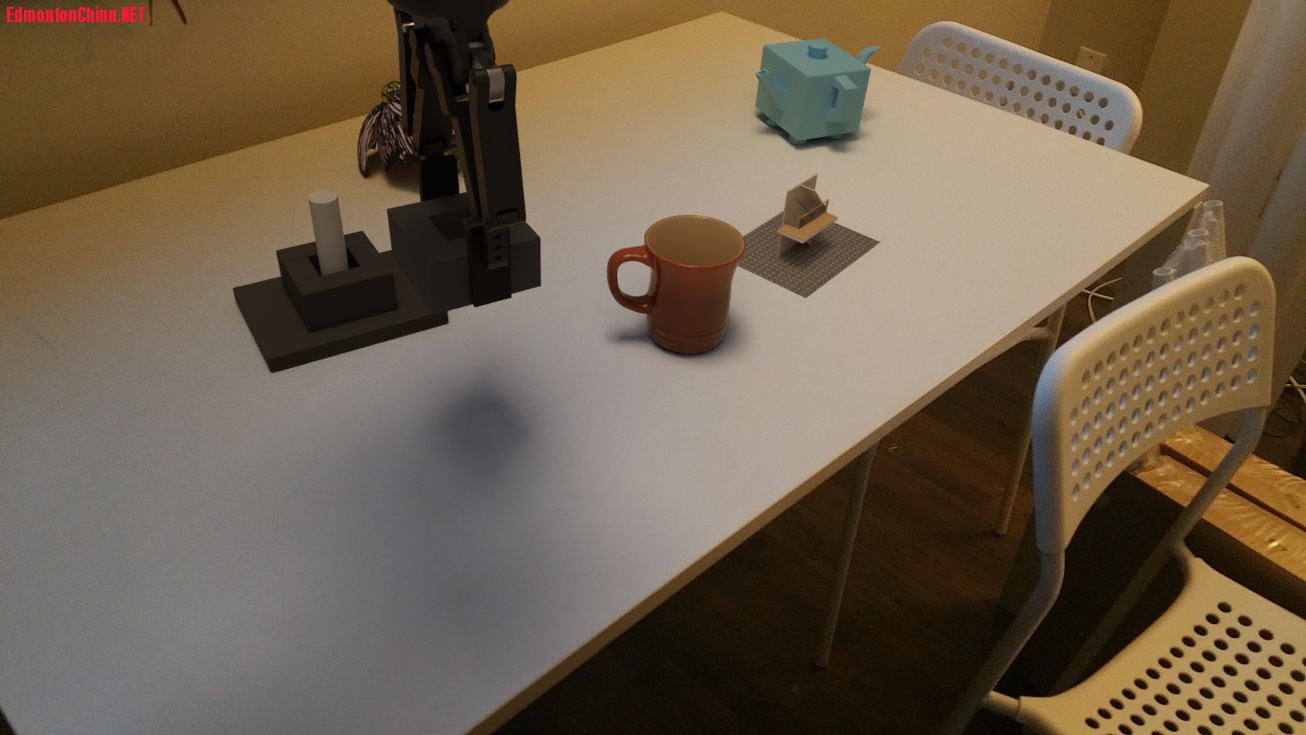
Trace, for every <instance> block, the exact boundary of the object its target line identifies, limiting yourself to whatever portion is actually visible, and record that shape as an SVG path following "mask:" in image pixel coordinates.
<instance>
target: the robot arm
mask: <svg viewBox="0 0 1306 735" xmlns="http://www.w3.org/2000/svg"><path fill="white" fill-rule="evenodd" d="M386 2H387V3H388V4H389V5H390V6H392V10H393V14H394V19H395V25H396V32H397V33H396V34H397V46H398V48H397V49H398V66H399V67H398V70H399V82H400V96H401V120H402V127H401V128H402V132H403V134H404V135H405V137H406V138H408V137H412V143H411V146H412V151H413V152H414V154H415V156H416V157H419V156H420V160H418V161H417V163H416V167H417V168H416V169H417V170H416V172H417V181H418V189H419V190H418V191H419V200H420V201H419V202H422V201H426V200H431V199H436V198H440V197H445V196H450V195H454V194H459V193H461V192H460V180H459V178H460V177H459V171H458V164H460V169H461V172H462V177H463V182H464V186H465V187H464V188H465V192H467V197H468V202H469V206H470V211H471V217H468V218H465V219H461V223H462V226H463V227H464V229H465V230H466V239H467V254H468V265H469V281H470V296H471V303H472V304H473V305H472V306H473V307H474V308H475V309H477V308H479V307H483V306H487V305H491V304H494V303H497V302H501V301H505V300H509V299H512V297H513V296H512V295H513V294H512V290H511V261H510V231H509V226H514V225H518V224H522V223H525V222H526V223H527V209H526V199H525V190H524V180H523V179H524V178H523V167H522V159H521V148H520V139H519V138H520V136H519V128H518V117H517V106H516V102H517V83H518V74H517V71H516V68H515V66H514V64H513V63H506V64H500V65H499V64H497V62H496V59H497V56H496V51H495V46H494V41H493V38H492V36H491V33H490V28H489V25H488V21H489V19H490V17H491V16H493V14H494V13H495V12H496V11H498V10H501V9H502V8H504V7H505V6H506V5H507V4H508V3H509V2H510V0H386ZM463 96H469V100H467V101H461V102H457V98H458V97H463ZM413 115H414V116H413ZM450 150H453V151H454V150H457V153H458V154H459V159H460V160H459V162H457V160H458V158H457V155H455V154H454V153H452V154H449V155H444V152H445V151H450Z"/></svg>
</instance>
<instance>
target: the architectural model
mask: <svg viewBox="0 0 1306 735" xmlns="http://www.w3.org/2000/svg"><path fill="white" fill-rule="evenodd" d="M817 180H818V173H815V174H813V175H812V176H810V177H808V178H806V179H805V180H803V181H801V182H800V183H798V184H796V185H795V186H793V187H791V188H789V189H788V190H786V195H785V201H784V206H783V211H781V212H780V213H777V215H775V216H774V217H773V216H772V218H770V219H768V220H767V221H765V222H764V223H762V224H760V225H759V226H758V227H756V228H755V229H752V230H751V231H750V232H748V233H746V234H744V235H742V236H743V237H744V240H745V244H746V247H745V251H744V254H743V256H742V258H741V260H740V261H739V263H738V266H739V267H741V268H742V269H745V270H747V271H749V272H751V273H754V274H756V275H757V276H759V277H761V278H764V279H766V280H768V281H770V282H772V283H774V284H777V285H778V286H781V287H783V288H785V289H787V290H789V291H791V292H792V293H793V292H794V293H796V294H797V295H800V296H802V297H804V298H807V297H809V296H810V295H812V294H813V293H814V292H815V291H817V290H819V289H820V287H822V286H823V285H825V284H826V283H828V282H829V281H830V280H831V279H833V278H834V277H835V276H837V275H838V274H839V273H841V272H842V271H844V270H845V269H846V268H847V267H849V266H850V265H851V264H853V263H854V262H856V261H857V260H858V259H860V258H861V257H862V256H863V255H865V254H866V253H867V252H869V251H871V250H872V249H873V248H875V247H876V246H877V245H878V244H879V243H880V240H877V239H874V238H872V237H870V236H867V235H866V234H863V233H860V232H858V231H856V230H853V229H851V228H849V227H846V226H844V225H842V224H839V223H837V221H838V218H839V217H838V216H837V215H835V214H832V213H830V212H827V211H828V206H829V202H830V199H829V198H827V199H826V201H824V202H823V200H822V199H821V197H820V196H819V194H818V192H817V191H816V187H817V186H816V185H817V182H818V181H817ZM738 266H737V267H738Z"/></svg>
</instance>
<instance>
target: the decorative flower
mask: <svg viewBox="0 0 1306 735" xmlns="http://www.w3.org/2000/svg"><path fill="white" fill-rule="evenodd" d="M380 97H381V99H382V101H380V102H379V103H378V104H376V105H375V106H374V107H373V108H371V110H370V111H369V112H368V114H367V116H365V118H364V119H363V123H362V124H361V128H360V130H359V133H358V140H357V141H358V142H357V148H356V150H357V151H356V153H357V154H356V155H357V164H358V169H359V172H360V174H361V175H362V177H365V175H366V173H367V172H366V171H367V160H368V152H369V151H370V150H374V151H375V150H376V149H377V151H378V156H379V158H380V161H381V165H382V168H383V170H384V172H385V174H386V177H389V175H390V176H391V175H392V174H391V171H393V167H394V166H396V164H397V163H398V161H399V163H405V164H407V166H408V167H411V166H413V165H415V164H417V161H418V160H420V156H419V157H416V156H415V154H414V152H413V151H412V146H411V143H412V137H408V138H406V137H405V135H404V134H403V132H402V128H401V127H402V120H401V96H400V81H396V80H391V81H389V82H388V83H386V84H385V85H383V87H382V89H381V90H380ZM467 100H469V96H463V97H458V98H457V102H461V101H467ZM413 116H414V115H413ZM453 151H454V150H450V151H445V152H444V155H449V154H453ZM456 157H457V162H458V172H460V171H461V164H460V159H459V154H458V152H457V153H456Z"/></svg>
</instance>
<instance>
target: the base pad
mask: <svg viewBox="0 0 1306 735" xmlns="http://www.w3.org/2000/svg"><path fill="white" fill-rule="evenodd" d="M307 199H308V206H309V211H310V217H311V224H312V229H313V234H314V241H316V246H317V252H318V258H319V263H320V269H321V275H322V276H324V275H328V274H332V273H336V272H340V271H344V270H348V269H349V266H348V260H347V253H346V247H345V240H344V235H345V234H344V227H343V222H342V221H343V220H342V214H341V208H340V202H339V195H338V192H336V191H334V190H331V189H318V190H315V191H312V192H311V193H310V194H309V195H307ZM379 253H380V255H381V256H382V258H383V259H384V260H385V262H386V263H387V265H388V266H389V267H390V269H391V270H392V272H393V275H394V283H395V292H396V300H397V309H396V310H392V311H388V312H385V313H381V314H377V315H374V316H370V317H366V318H362V319H359V320H355V321H351V322H348V323H344V324H340V325H336V326H333V327H329V328H325V329H322V330H318V331H314V332H310V333H309V331H308V330H307V328H306V326H305V324H304V323H303V321H302V319H301V317H300V316H299V314H298V312H297V310H296V309H295V307H294V305H293V303H292V302H291V300H290V298H289V296H288V295H287V293H286V291H285V289H284V288H283V284H282V279H281V275H279V276H276V277H272V278H268V279H264V280H260V281H255V282H251V283H247V284H243V285H239V286H235V287H233V288H232V292H233V296H234V300H235V303H236V305H237V307H238V309H239V311H240V313H241V315H242V317H243V319H244V321H245V323H246V325H247V327H248V329H249V331H250V334H251V335H252V337H253V339H254V341H255V343H256V345H257V347H258V350H259V351H260V353H261V355H262V357H263V359H264V362H265V363H266V365H267V368H268V369H269V371H270V373H275V372H279V371H283V370H286V369H290V368H293V367H296V366H300V365H303V364H304V365H305V364H307V363H308V364H309V363H311V362H315V361H318V360H322V359H325V358H328V357H333V356H335V355H336V356H337V355H339V354H344V353H347V352H349V351H353V350H358V349H361V348H364V347H368V346H371V345H375V344H379V343H381V342H385V341H388V340H392V339H396V338H400V337H404V336H407V335H411V334H414V333H416V332H417V333H418V332H420V331H421V332H422V331H425V330H428V329H431V328H435V327H439V326H442V325H445V324H449V311H446V312H443V313H439V314H435V315H433V314H432V313H431V311H430V310H429V308H428V307H427V305H426V304H425V303H424V301H423V300H422V298H421V297H420V296H419V294H418V293H417V291H416V290H415V289H414V287H413V286H412V284H411V283H410V281H409V280H408V279H407V277H406V276H405V274H404V273H403V271H402V270H401V268H400V267H399V266H398V264H397V263H396V261H395V260H394V259H393V257H392V249H388V250H385V251H380V252H379Z"/></svg>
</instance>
